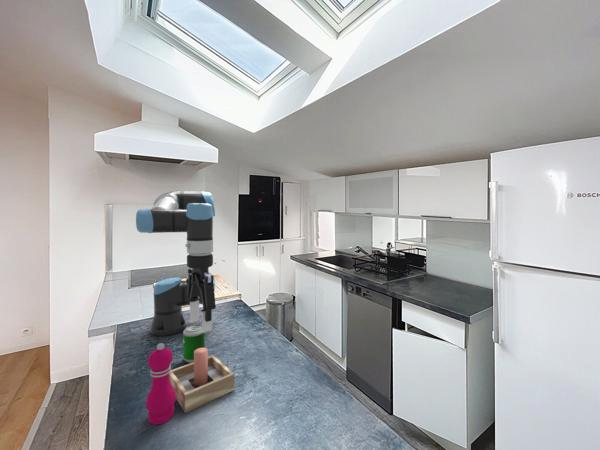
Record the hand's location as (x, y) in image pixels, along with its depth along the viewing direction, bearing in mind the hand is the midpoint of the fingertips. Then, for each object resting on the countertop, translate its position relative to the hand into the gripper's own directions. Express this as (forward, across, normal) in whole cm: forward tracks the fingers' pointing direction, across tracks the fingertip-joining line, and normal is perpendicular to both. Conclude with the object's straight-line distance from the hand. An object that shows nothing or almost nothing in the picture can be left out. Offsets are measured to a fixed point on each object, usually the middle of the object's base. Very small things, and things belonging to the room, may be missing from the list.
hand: (200, 325), depth 85 cm
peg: (+20, 0, 0) cm, 20 cm away
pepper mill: (+20, +5, -13) cm, 24 cm away
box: (+20, 0, 0) cm, 20 cm away
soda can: (+20, -18, +5) cm, 28 cm away
